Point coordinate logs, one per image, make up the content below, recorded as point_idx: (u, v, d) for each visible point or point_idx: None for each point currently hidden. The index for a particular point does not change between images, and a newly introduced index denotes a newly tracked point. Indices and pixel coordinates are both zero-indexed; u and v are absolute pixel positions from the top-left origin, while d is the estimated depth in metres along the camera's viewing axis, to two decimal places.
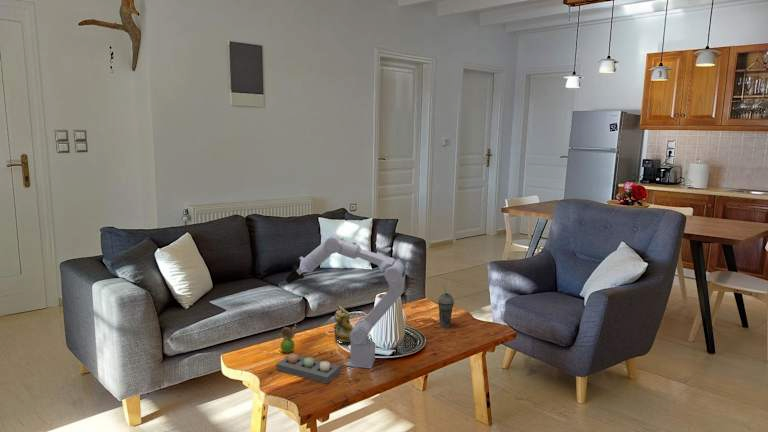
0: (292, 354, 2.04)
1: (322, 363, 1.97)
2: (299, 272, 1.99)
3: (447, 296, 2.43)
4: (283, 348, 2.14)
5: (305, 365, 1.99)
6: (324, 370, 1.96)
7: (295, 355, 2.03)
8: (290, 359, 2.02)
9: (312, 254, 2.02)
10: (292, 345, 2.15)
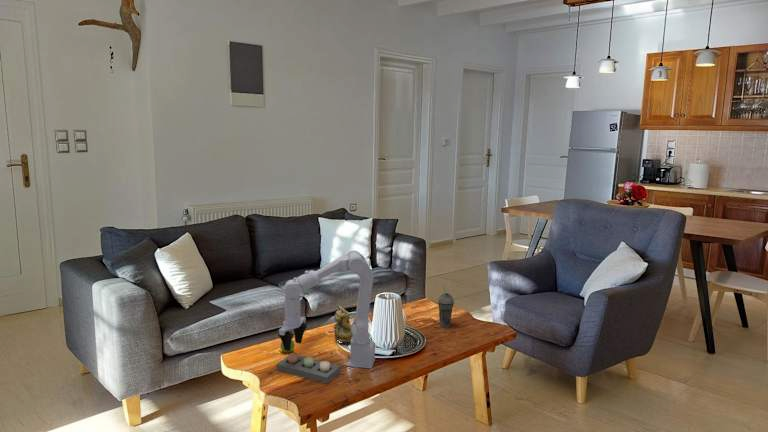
0: (292, 354, 2.04)
1: (322, 363, 1.97)
2: (281, 333, 1.94)
3: (447, 296, 2.43)
4: (283, 348, 2.14)
5: (305, 365, 1.99)
6: (324, 370, 1.96)
7: (295, 355, 2.03)
8: (290, 359, 2.02)
9: (287, 312, 1.97)
10: (292, 345, 2.15)
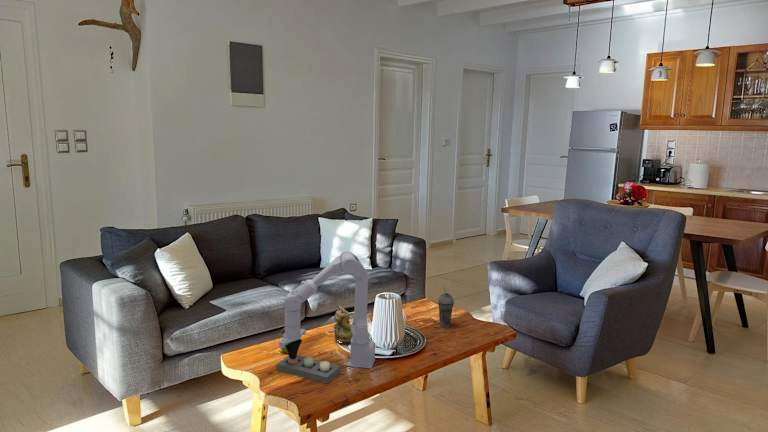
0: None
1: (322, 363, 1.97)
2: (281, 346, 1.95)
3: (447, 296, 2.43)
4: (283, 348, 2.14)
5: (305, 365, 1.99)
6: (324, 370, 1.96)
7: None
8: (290, 362, 2.02)
9: (287, 325, 1.98)
10: None
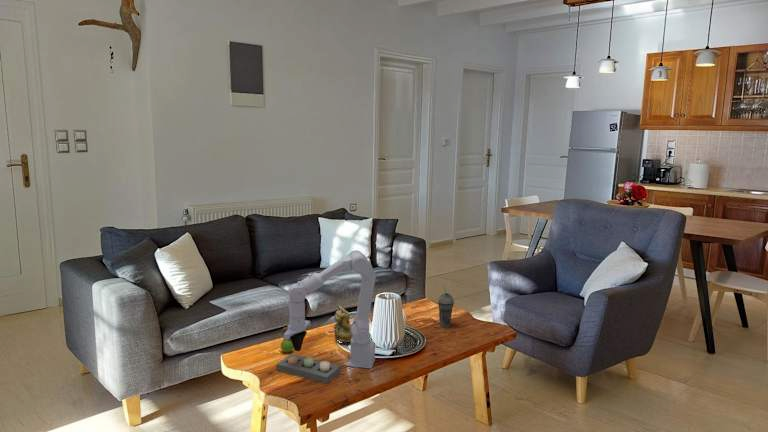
0: (292, 358, 2.04)
1: (322, 363, 1.97)
2: (286, 337, 1.94)
3: (447, 296, 2.43)
4: (283, 348, 2.14)
5: (305, 365, 1.99)
6: (324, 370, 1.96)
7: (295, 359, 2.03)
8: (290, 363, 2.02)
9: (292, 316, 1.97)
10: (292, 345, 2.15)
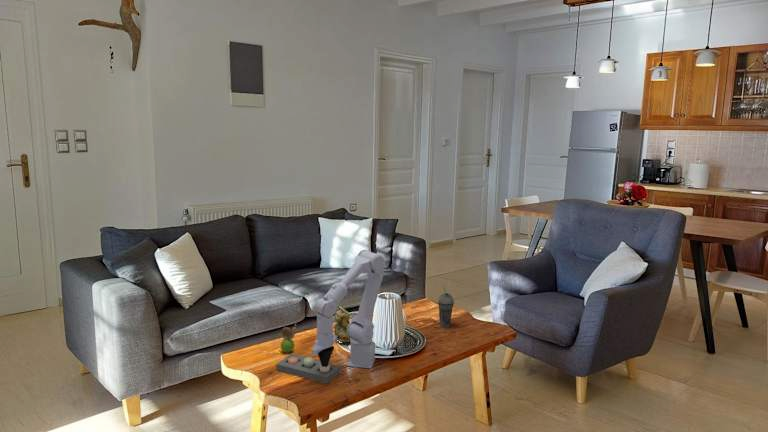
0: (292, 358, 2.04)
1: None
2: (314, 353, 1.89)
3: (447, 296, 2.43)
4: (283, 348, 2.14)
5: (305, 365, 1.99)
6: None
7: (295, 359, 2.03)
8: (290, 363, 2.02)
9: (323, 332, 1.92)
10: (292, 345, 2.15)
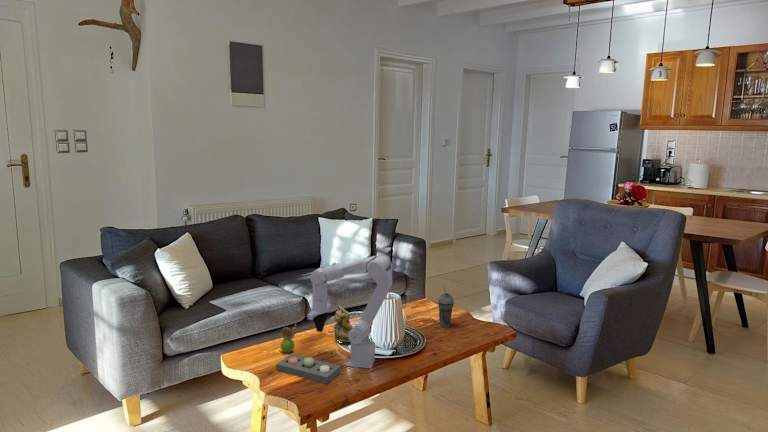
0: (292, 358, 2.04)
1: (322, 367, 1.97)
2: (310, 318, 2.04)
3: (447, 296, 2.43)
4: (283, 348, 2.14)
5: (305, 365, 1.99)
6: None
7: (295, 359, 2.03)
8: (290, 363, 2.02)
9: (313, 297, 2.08)
10: (292, 345, 2.15)
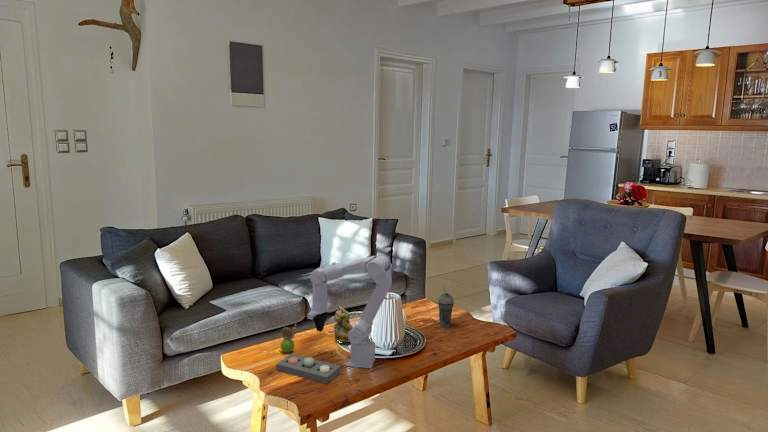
0: (292, 358, 2.04)
1: (322, 367, 1.97)
2: (310, 317, 2.05)
3: (447, 296, 2.43)
4: (283, 348, 2.14)
5: (305, 365, 1.99)
6: None
7: (295, 359, 2.03)
8: (290, 363, 2.02)
9: (313, 297, 2.09)
10: (292, 345, 2.15)
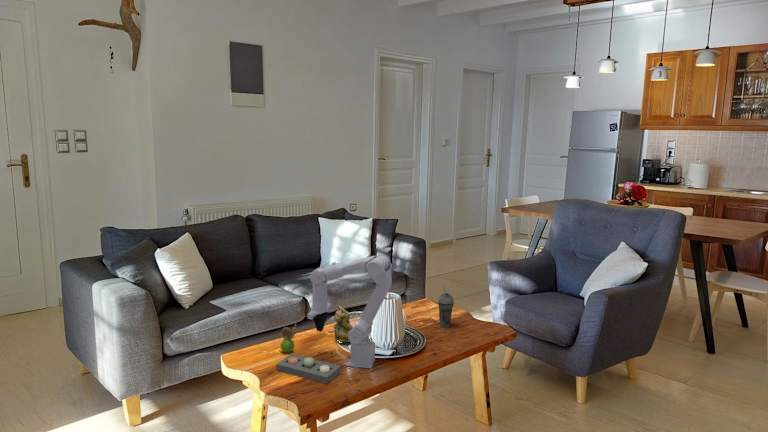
0: (292, 358, 2.04)
1: (322, 367, 1.97)
2: (310, 317, 2.05)
3: (447, 296, 2.43)
4: (283, 348, 2.14)
5: (305, 365, 1.99)
6: None
7: (295, 359, 2.03)
8: (290, 363, 2.02)
9: (313, 297, 2.09)
10: (292, 345, 2.15)
